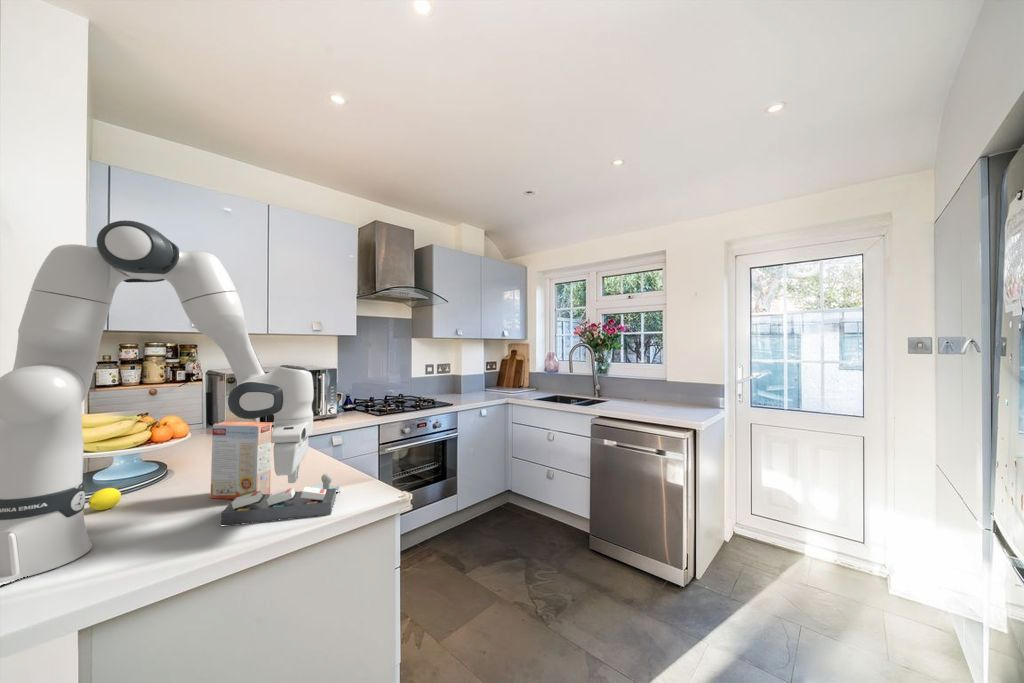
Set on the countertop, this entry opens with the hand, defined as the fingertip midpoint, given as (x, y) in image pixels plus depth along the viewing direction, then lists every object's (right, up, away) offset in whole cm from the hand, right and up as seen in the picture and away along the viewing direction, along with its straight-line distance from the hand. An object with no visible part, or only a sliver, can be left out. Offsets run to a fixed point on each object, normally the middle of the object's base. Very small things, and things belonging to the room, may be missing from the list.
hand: (293, 481), depth 99 cm
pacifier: (+2, -9, +14) cm, 17 cm away
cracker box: (-21, -8, +11) cm, 25 cm away
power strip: (-3, -8, +1) cm, 9 cm away
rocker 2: (-2, -4, -1) cm, 4 cm away
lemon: (-49, -8, 0) cm, 50 cm away
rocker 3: (+5, -4, +1) cm, 6 cm away
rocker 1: (-10, -3, -3) cm, 11 cm away
